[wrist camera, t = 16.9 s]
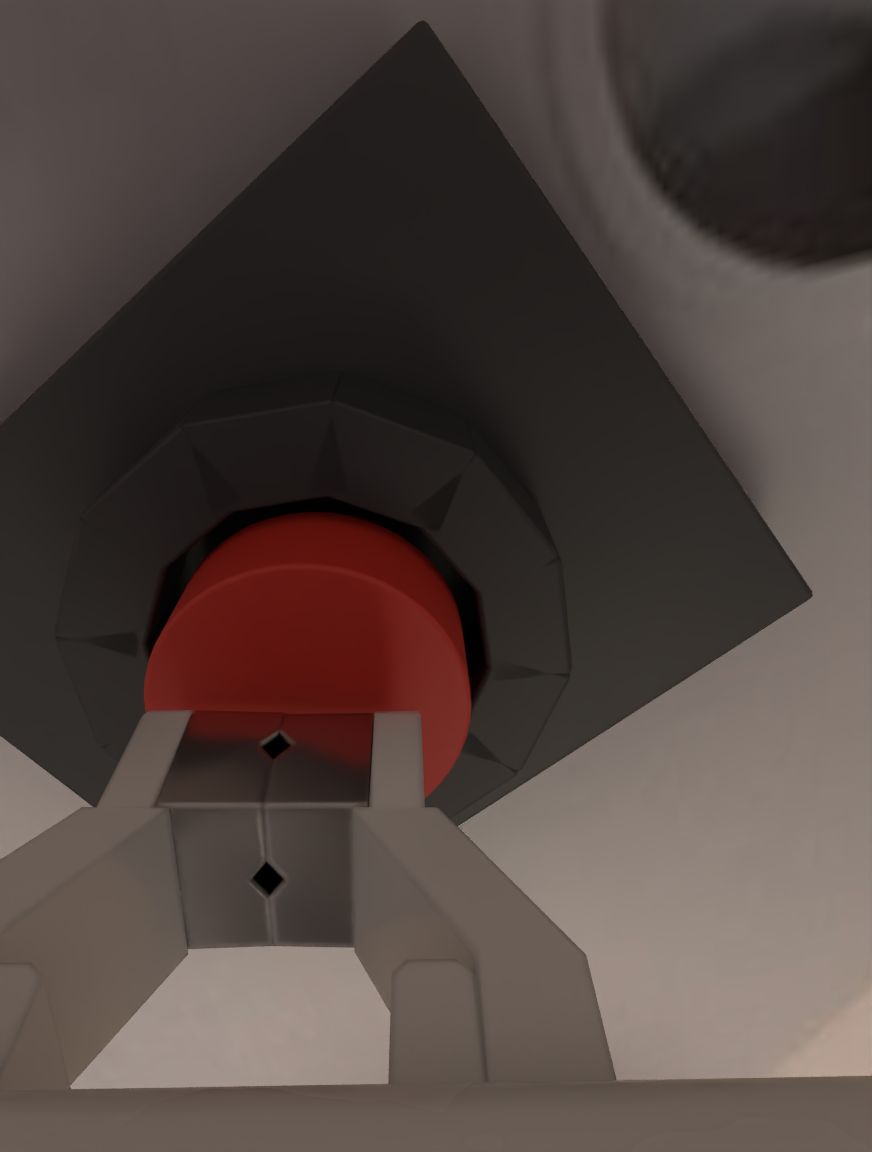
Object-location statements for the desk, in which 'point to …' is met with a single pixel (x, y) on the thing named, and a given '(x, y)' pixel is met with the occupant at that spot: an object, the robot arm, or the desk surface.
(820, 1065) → the desk surface
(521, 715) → the button box
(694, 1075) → the desk surface
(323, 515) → the button
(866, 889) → the desk surface
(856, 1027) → the desk surface
